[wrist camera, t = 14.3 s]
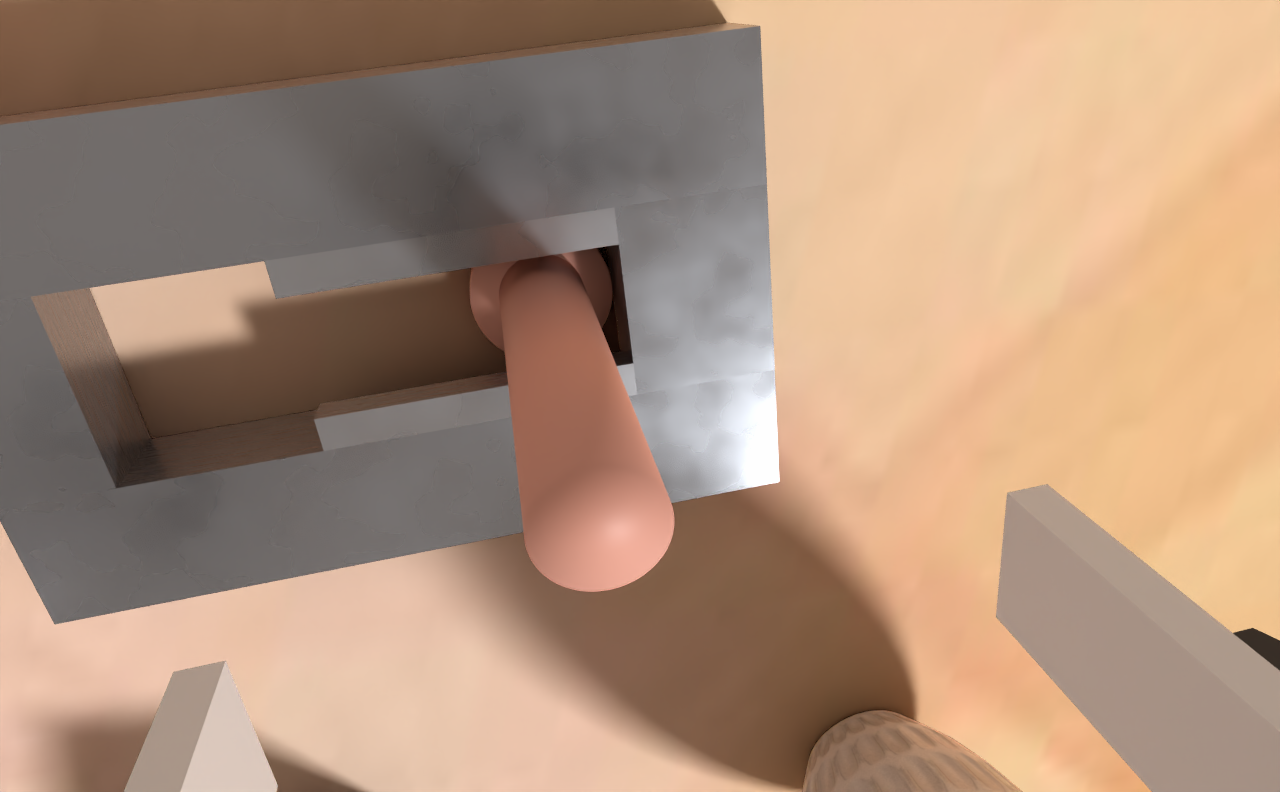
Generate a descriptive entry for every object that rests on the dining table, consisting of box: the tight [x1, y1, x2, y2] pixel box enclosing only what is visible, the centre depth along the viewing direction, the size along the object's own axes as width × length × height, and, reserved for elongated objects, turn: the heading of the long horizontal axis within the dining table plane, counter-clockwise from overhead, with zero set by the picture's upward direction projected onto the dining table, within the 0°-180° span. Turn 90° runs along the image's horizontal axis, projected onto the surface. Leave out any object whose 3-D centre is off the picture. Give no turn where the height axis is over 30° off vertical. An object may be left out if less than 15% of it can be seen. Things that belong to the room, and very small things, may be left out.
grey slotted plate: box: [0, 23, 779, 624], centre depth 29 cm, size 26×16×4 cm, turn 96°
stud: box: [470, 248, 674, 592], centre depth 24 cm, size 5×5×16 cm
